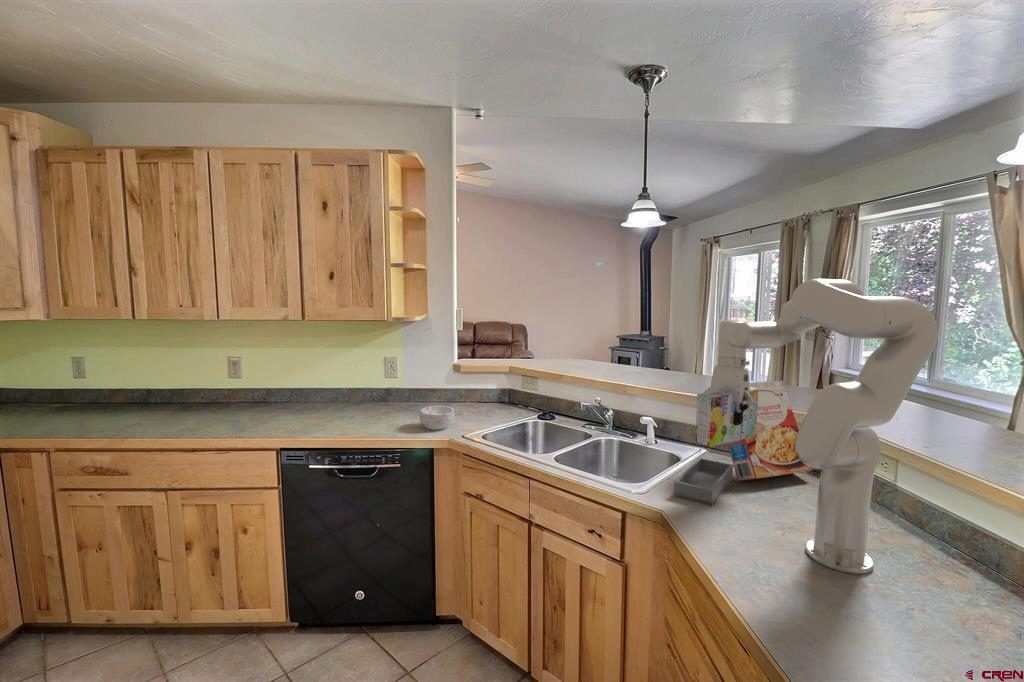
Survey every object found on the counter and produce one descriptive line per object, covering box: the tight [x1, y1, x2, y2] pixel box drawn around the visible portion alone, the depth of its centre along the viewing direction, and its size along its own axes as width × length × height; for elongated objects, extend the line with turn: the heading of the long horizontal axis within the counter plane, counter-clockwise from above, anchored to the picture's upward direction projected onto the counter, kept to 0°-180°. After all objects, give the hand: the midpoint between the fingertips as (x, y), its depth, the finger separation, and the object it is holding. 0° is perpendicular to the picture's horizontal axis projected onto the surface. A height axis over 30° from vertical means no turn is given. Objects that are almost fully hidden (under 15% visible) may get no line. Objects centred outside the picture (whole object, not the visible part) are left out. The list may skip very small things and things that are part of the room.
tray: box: [673, 457, 734, 507], centre depth 144 cm, size 26×11×4 cm, turn 143°
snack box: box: [694, 387, 758, 448], centre depth 138 cm, size 21×6×15 cm, turn 118°
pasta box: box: [726, 380, 813, 482], centre depth 154 cm, size 23×8×30 cm, turn 108°
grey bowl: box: [419, 405, 455, 431], centre depth 204 cm, size 15×15×8 cm
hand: (726, 421), depth 138 cm, fingers closed on snack box, 5 cm apart
